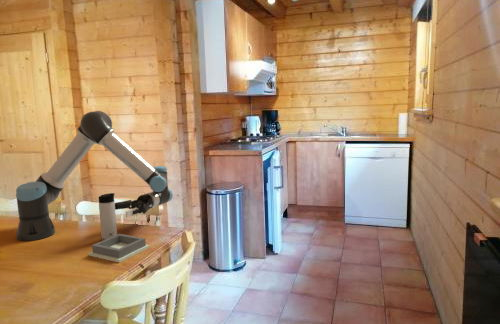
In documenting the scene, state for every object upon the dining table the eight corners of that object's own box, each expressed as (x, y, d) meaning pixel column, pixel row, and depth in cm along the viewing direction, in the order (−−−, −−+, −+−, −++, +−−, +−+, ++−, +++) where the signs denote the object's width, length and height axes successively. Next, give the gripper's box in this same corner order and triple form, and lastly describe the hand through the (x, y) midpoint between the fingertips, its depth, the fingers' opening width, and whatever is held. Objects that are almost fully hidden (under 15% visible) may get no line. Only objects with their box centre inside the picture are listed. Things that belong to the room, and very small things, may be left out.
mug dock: (88, 255, 143) (88, 245, 143) (120, 241, 157) (119, 232, 157) (119, 262, 136) (118, 252, 135) (149, 247, 150) (148, 237, 150)
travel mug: (114, 241, 158) (111, 195, 155) (99, 241, 158) (95, 195, 155) (120, 236, 164) (116, 191, 161) (105, 236, 164) (101, 192, 161)
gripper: (168, 211, 176) (137, 224, 157) (129, 206, 187) (94, 217, 168) (167, 196, 175) (135, 207, 156) (127, 191, 186) (93, 201, 167)
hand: (114, 212), depth 162 cm, fingers open, 13 cm apart
